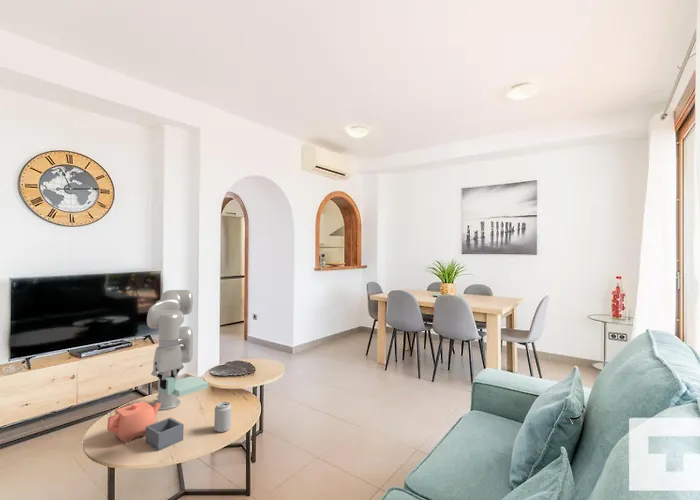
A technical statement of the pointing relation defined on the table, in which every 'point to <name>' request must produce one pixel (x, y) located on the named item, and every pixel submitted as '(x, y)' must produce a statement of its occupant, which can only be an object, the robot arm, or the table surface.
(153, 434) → the tub
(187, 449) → the table surface
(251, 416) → the table surface
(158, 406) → the teapot
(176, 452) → the table surface
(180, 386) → the mint green stepped block
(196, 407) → the table surface
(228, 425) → the can
